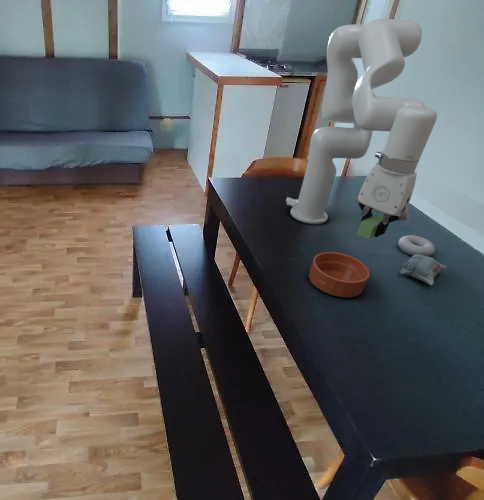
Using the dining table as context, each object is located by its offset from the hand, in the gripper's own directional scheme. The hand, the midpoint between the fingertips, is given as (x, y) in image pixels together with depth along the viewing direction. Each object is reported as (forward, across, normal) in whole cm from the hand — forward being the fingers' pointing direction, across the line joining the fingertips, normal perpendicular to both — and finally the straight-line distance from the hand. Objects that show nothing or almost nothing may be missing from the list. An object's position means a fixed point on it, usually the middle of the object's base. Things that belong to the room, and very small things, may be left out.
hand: (371, 231), depth 103 cm
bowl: (+17, -3, -3) cm, 18 cm away
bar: (0, 0, 0) cm, 0 cm away
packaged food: (+17, +10, +21) cm, 29 cm away
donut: (+17, +2, +34) cm, 38 cm away
